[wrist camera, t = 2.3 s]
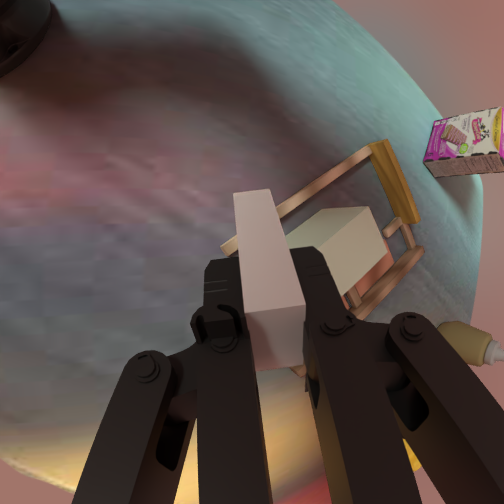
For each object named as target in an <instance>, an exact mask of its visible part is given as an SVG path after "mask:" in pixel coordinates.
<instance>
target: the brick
mask: <svg viewBox="0 0 504 504" xmlns="http://www.w3.org/2000/svg"><path fill="white" fill-rule="evenodd" d="M285 238H286V241H287V244H288V248H289V249H292V248H300V247H307V246H314V247H315V248H316V249H317V250H319V251H320V252H321V253H322V254H323V256H324V258H325V260H326V263H327V266H328V267H329V269H330V272H331V275H332V276H333V279H334V281H335V284H336V286H337V288H338V291H339V293H340V295H341V297H342V296H343V295H344V294H345V293H346V292H347V291H348V290H349V289H350V288H351V287H352V286H353V285H354V284H355V283H357V282H358V281H359V280H360V279H361V278H362V277H363V276H364V275H365V274H366V273H367V272H368V271H369V270H370V269H371V268H372V267H373V266H374V265H375V264H376V263H377V262H378V261H379V260H380V259H381V258H382V257H383V256H384V255H385V254H386V253H387V252H388V251H387V249H386V246H385V244H384V241H383V239H382V237H381V234H380V232H379V229H378V227H377V225H376V222H375V220H374V218H373V215H372V213H371V211H370V209H369V206H364V207H345V208H327V209H321V210H320V211H318V212H317V213H316V214H314V215H313V216H312V217H310V218H309V219H308V220H306V221H305V222H304V223H302V224H301V225H300V226H298V227H297V228H296V229H294V230H293V231H292V232H290V233H289V234H288V235H286V236H285Z"/></svg>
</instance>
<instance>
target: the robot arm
mask: <svg viewBox="0 0 504 504" xmlns="http://www.w3.org/2000/svg"><path fill="white" fill-rule="evenodd" d="M50 21H51V7H50V2H49V0H0V77H2V76H3V75H5V74H7V73H8V72H10V71H11V70H13V69H14V68H16V67H17V66H18V65H19V64H21V63H22V62H23V61H24V60H25V59H26V58H27V57H28V56H29V55H30V54H31V53H32V52H33V51H34V50H35V48H36V47H37V46H38V45H39V43H40V42H41V40H42V39H43V37H44V36H45V34H46V32H47V30H48V27H49V24H50ZM233 198H234V209H235V219H236V230H237V241H238V251H239V257H231V258H224V259H216V260H211V261H210V263H209V264H208V266H207V267H206V269H205V273H204V302H203V306H202V307H200V308H199V309H198V310H197V311H196V312H195V313H194V314H193V316H192V319H191V322H190V325H191V328H192V330H193V333H194V336H195V339H196V342H195V343H194V344H193V345H192V346H190V347H189V348H187V349H185V350H183V351H181V352H178V353H176V354H173V355H170V356H167V357H166V356H165V355H164V354H163V353H161V352H158V351H155V350H151V351H143V352H141V353H138V354H136V355H135V356H133V357H132V358H131V359H130V360H129V361H128V363H127V364H126V365H125V367H124V369H123V372H122V374H121V376H120V379H119V381H118V383H117V385H116V388H115V390H114V393H113V395H112V397H111V400H110V402H109V404H108V407H107V409H106V412H105V414H104V417H103V419H102V422H101V424H100V427H99V429H98V432H97V434H96V437H95V439H94V442H93V445H92V447H91V450H90V453H89V455H88V458H87V461H86V463H85V466H84V469H83V472H82V475H81V477H80V480H79V483H78V486H77V489H76V492H75V495H74V498H73V501H72V504H174V500H175V496H176V492H177V488H178V485H179V481H180V477H181V473H182V469H183V465H184V462H185V458H186V454H187V450H188V446H189V443H190V439H191V435H192V431H193V428H194V424H195V420H196V418H197V452H198V484H199V504H273V499H272V492H271V485H270V477H269V470H268V462H267V455H266V447H265V439H264V431H263V424H262V416H261V408H260V400H259V392H258V385H257V379H256V371H263V370H270V369H277V368H284V367H290V366H297V365H303V357H304V362H305V366H306V382H305V392H308V391H309V396H310V400H311V405H312V409H313V414H314V419H315V423H316V428H317V432H318V437H319V442H320V447H321V451H322V456H323V461H324V466H325V471H326V476H327V481H328V486H329V491H330V496H331V501H332V504H422V501H421V497H420V494H419V490H418V487H417V483H416V480H415V476H414V473H413V470H412V466H411V463H410V460H409V457H408V453H407V450H406V447H405V444H404V441H403V438H402V436H403V437H404V439H405V440H406V442H407V443H408V445H409V446H410V448H411V450H412V451H413V453H414V454H415V456H416V457H417V459H418V460H419V462H420V464H421V465H422V467H423V468H424V470H425V471H426V473H427V475H428V476H429V478H430V479H431V481H432V482H433V484H434V486H435V487H436V489H437V491H438V492H439V494H440V495H441V497H442V498H443V500H444V502H445V503H446V504H504V411H503V409H502V408H501V406H500V405H499V404H498V402H497V401H496V400H495V399H494V397H493V396H492V395H491V393H490V392H489V391H488V390H487V388H486V387H485V386H484V385H483V383H482V382H481V381H480V379H479V378H478V377H477V376H476V375H475V373H474V372H473V371H472V370H471V369H470V367H469V366H468V365H467V364H466V362H465V361H464V360H463V359H462V358H461V356H460V355H459V354H458V353H457V352H456V351H455V349H454V348H453V347H452V346H451V345H450V344H449V342H448V341H447V340H446V339H445V338H444V337H443V335H442V334H441V333H440V332H439V331H438V330H437V329H436V328H435V326H434V325H433V324H432V323H431V322H430V321H429V320H428V319H426V318H425V317H424V316H423V315H420V314H417V313H415V312H404V313H400V314H398V315H396V316H395V317H394V318H393V319H392V320H391V322H390V324H385V323H371V322H366V321H363V320H360V319H358V318H356V316H355V315H354V314H353V313H352V312H350V311H349V310H347V309H346V307H345V305H344V303H343V300H342V298H341V295H340V293H339V291H338V288H337V286H336V284H335V281H334V279H333V276H332V275H331V272H330V269H329V267H328V266H327V263H326V260H325V258H324V256H323V254H322V253H321V252H320V251H319V250H317V249H316V248H315V247H314V246H307V247H300V248H292V249H289V248H288V244H287V241H286V238H285V235H284V232H283V229H282V226H281V223H280V219H279V216H278V213H277V210H276V207H275V204H274V201H273V198H272V195H271V192H270V189H262V190H254V191H246V192H239V193H233ZM401 434H402V435H401Z"/></svg>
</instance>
